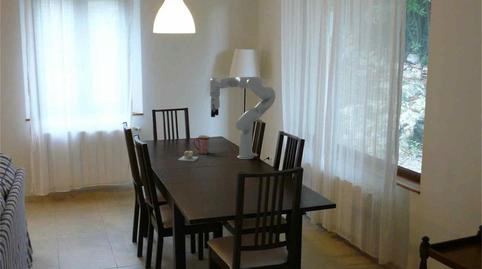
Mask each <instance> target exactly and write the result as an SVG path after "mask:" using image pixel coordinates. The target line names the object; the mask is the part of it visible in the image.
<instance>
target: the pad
mask: <svg viewBox="0 0 482 269" xmlns="http://www.w3.org/2000/svg"><path fill="white" fill-rule="evenodd" d="M198 159H199V156H193V158H192V159H184V155H182V156H181V157H180V158H178V159H177V161H183V162H196V160H198Z"/></svg>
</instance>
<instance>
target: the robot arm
mask: <svg viewBox="0 0 482 269" xmlns="http://www.w3.org/2000/svg"><path fill="white" fill-rule="evenodd" d="M262 84H263V82H262V79H261V78H260V77H259V76H240V77H239V76H238V77H224V78H218V77H211V78H210V80H209V97H210V117H211V118H216V116H219V115H220V114H219V110H220V108H221V106H220V104H221V102H220V97H221V96H220V95H221V89H227V88H238V89H249V90H250V91H251V92H252V93H253V94H254V95H256V97H257V98H259V99H260V101H259V102H258V103H257V104H256V105H255V106H254V107H252V108H249V109H247V110H246V111H245V112H244V113H243V114H241V116H240V117H239V118H237V120H236V122H235V127H236V130H237V131H239V149H238V150H239V154H238V155H237V157H236V158H237V159H240V160H252V159H254V158H255V157H258V154H257V153H255V152H253V131H254V130H253V129H254V122H256V121H257V120H260V118H261V117H262V116H264V115H265V114H266V112H267V111H268V110H269V109H270V108H271V107H273V104H275V100H276V93H275V92H276V91H275V90H274V89H273V88H272V87H271V86H264V85H262Z"/></svg>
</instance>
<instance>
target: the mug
mask: <svg viewBox="0 0 482 269" xmlns="http://www.w3.org/2000/svg"><path fill="white" fill-rule="evenodd" d="M196 140H197V142H198V147H197V145H196V143H195V142H196ZM192 141H193V145H194V147H195V148H196V149H197V150H198V153H199V154H201V155H207V154H208V153H209V145H210V136H209V135H198V138H194V139H193V140H192Z"/></svg>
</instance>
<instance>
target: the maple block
mask: <svg viewBox="0 0 482 269" xmlns="http://www.w3.org/2000/svg"><path fill="white" fill-rule="evenodd" d="M183 153H184V155H183V156H184V159H192V158H193V157H194V151H192V150H186V151H184V152H183Z"/></svg>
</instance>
